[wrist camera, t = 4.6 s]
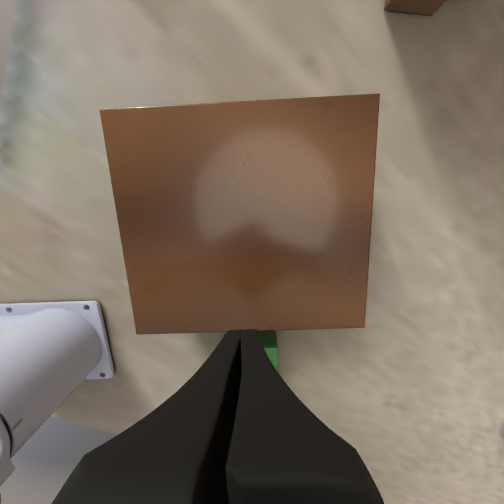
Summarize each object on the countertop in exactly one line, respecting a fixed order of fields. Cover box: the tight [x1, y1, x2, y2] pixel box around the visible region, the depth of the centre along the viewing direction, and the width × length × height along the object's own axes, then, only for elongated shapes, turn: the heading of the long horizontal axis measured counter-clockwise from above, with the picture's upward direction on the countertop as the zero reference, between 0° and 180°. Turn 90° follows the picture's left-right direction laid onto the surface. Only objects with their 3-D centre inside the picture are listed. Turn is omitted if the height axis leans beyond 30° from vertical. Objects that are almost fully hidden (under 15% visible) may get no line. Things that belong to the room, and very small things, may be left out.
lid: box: [100, 94, 380, 334], centre depth 14 cm, size 13×15×1 cm
